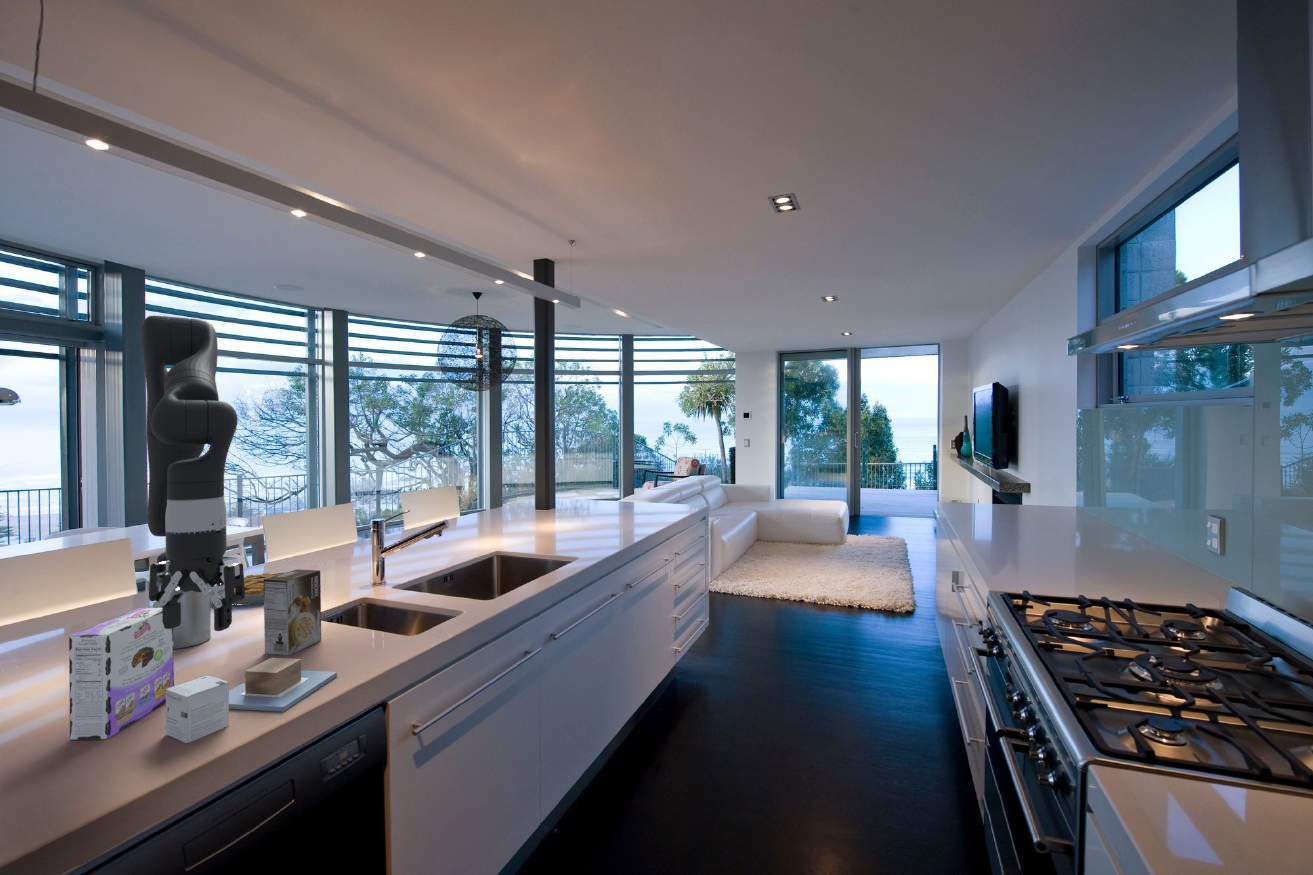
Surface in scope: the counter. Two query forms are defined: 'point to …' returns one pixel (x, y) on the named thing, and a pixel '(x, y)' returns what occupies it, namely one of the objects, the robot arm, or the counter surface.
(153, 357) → the robot arm
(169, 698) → the skincare box
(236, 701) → the board
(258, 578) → the pie
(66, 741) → the counter surface
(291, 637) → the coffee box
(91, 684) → the candy box
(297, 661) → the walnut block
